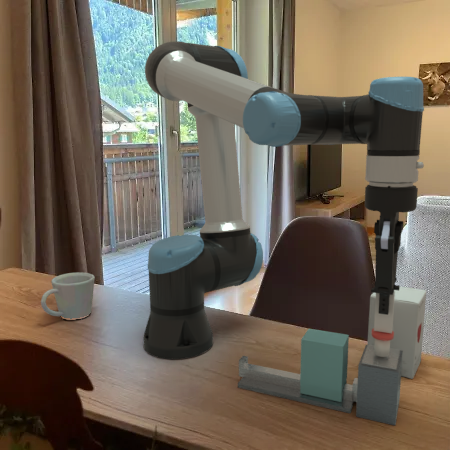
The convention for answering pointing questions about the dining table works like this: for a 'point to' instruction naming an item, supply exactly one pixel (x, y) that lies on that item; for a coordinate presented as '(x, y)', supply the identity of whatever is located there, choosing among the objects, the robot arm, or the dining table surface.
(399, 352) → the grey button housing
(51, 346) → the dining table surface
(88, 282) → the mug
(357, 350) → the dining table surface
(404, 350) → the supplement box
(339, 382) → the carriage
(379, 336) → the plunger
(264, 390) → the rail
